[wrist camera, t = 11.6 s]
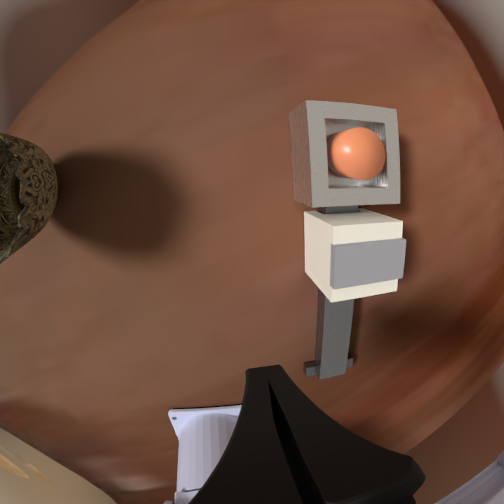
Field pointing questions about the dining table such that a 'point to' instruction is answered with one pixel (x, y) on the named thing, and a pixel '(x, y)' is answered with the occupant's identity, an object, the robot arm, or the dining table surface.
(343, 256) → the block
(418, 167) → the dining table surface
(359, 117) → the button housing
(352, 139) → the button
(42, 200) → the cup
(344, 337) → the rail
